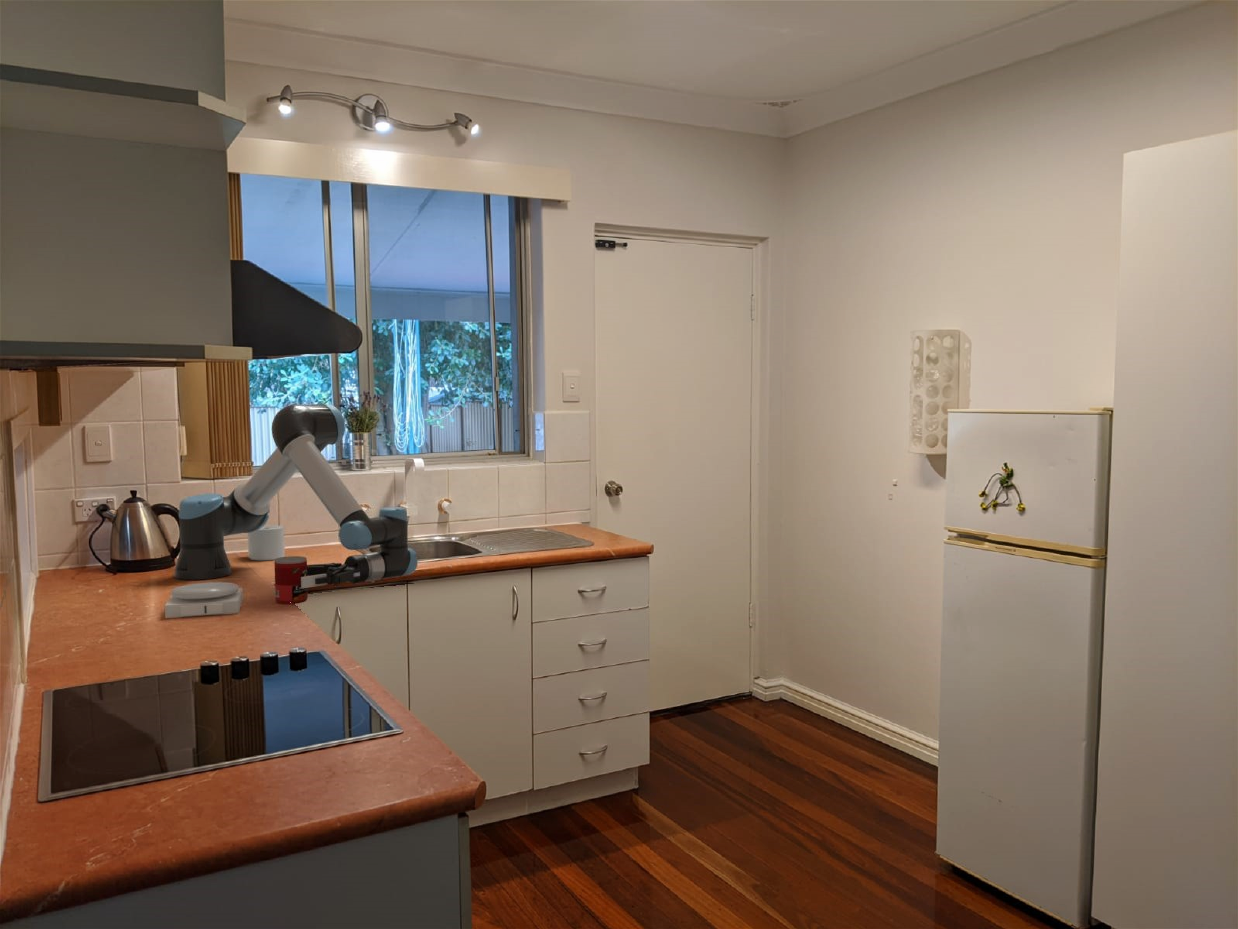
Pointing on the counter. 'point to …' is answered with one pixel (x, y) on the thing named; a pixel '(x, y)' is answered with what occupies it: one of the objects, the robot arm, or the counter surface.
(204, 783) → the counter surface
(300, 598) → the canned food
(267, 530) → the toilet tissue
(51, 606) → the counter surface
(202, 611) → the kitchen scale
